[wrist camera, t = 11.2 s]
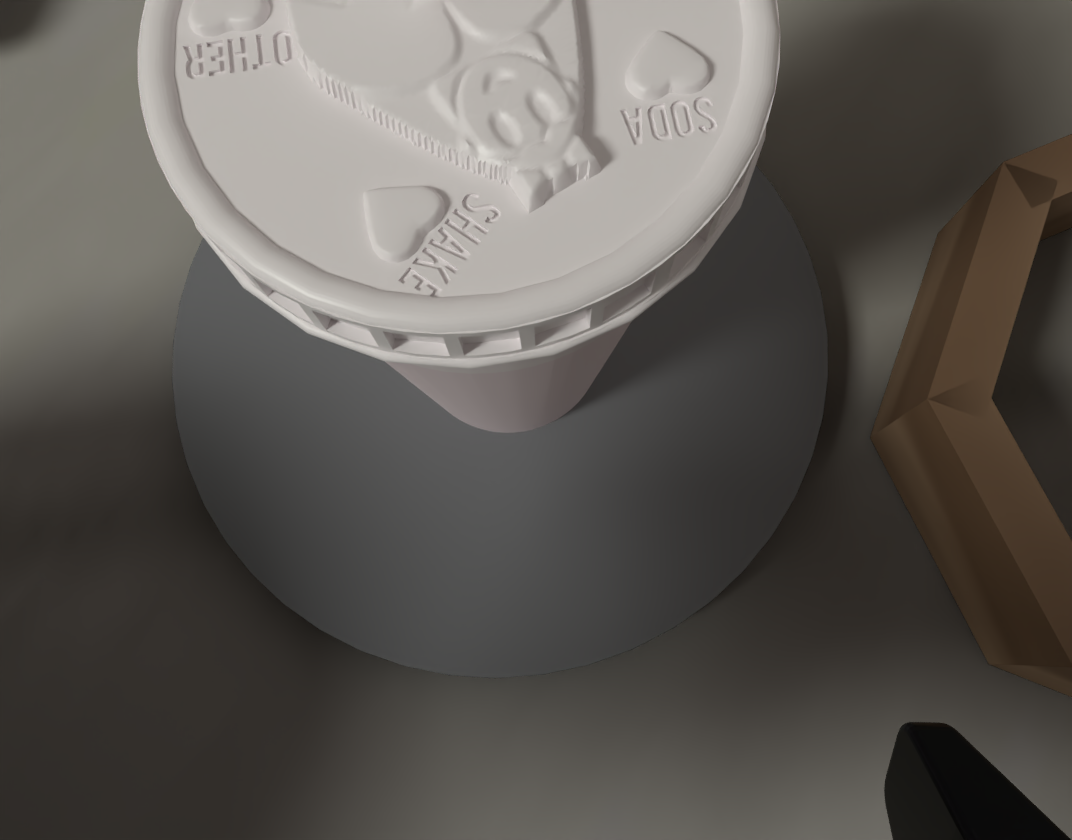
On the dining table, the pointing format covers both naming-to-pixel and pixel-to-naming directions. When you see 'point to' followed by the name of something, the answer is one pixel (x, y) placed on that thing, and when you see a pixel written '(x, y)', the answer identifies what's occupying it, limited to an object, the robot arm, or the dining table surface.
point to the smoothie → (462, 171)
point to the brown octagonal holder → (984, 424)
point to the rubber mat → (511, 467)
